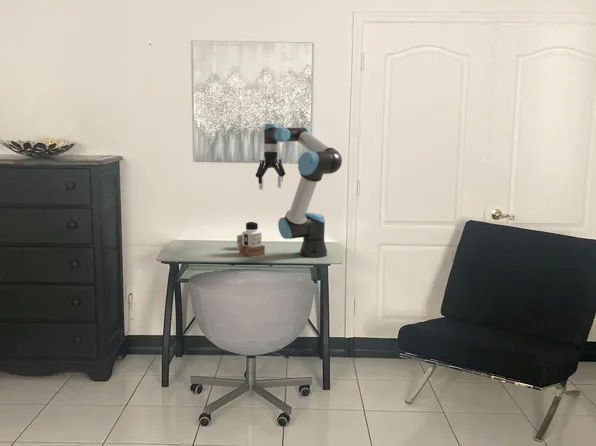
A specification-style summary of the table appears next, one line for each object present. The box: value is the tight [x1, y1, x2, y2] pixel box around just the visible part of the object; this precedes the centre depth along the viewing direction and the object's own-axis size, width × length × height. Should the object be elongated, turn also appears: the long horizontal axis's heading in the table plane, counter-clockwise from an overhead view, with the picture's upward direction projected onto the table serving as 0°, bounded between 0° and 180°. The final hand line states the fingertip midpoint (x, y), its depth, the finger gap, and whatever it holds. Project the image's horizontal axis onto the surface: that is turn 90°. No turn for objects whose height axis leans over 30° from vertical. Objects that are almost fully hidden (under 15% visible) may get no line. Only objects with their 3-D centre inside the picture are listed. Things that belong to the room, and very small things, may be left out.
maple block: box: [236, 233, 242, 250], centre depth 366 cm, size 6×6×8 cm
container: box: [241, 221, 263, 247], centre depth 351 cm, size 8×8×13 cm
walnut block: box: [238, 244, 266, 258], centre depth 353 cm, size 10×10×5 cm
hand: (270, 188), depth 364 cm, fingers open, 13 cm apart
